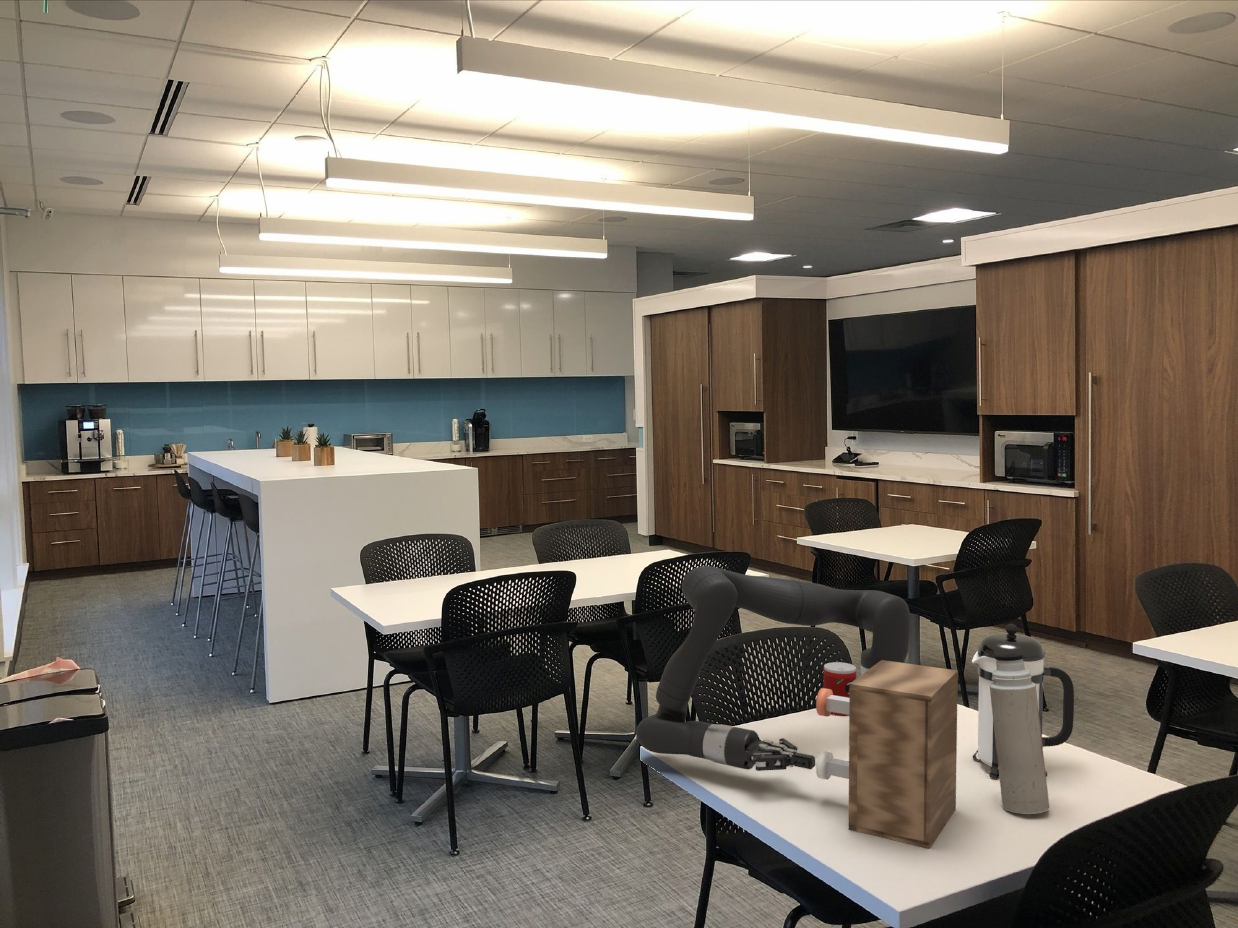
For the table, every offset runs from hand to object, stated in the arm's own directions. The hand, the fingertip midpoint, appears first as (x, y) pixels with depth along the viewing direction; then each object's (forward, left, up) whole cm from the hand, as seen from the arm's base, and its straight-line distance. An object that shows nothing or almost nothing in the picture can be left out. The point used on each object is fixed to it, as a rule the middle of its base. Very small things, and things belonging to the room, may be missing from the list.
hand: (813, 762), depth 182 cm
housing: (+16, +6, -7) cm, 18 cm away
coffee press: (+15, +43, -7) cm, 47 cm away
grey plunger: (+8, +3, -3) cm, 9 cm away
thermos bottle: (+27, +27, -7) cm, 39 cm away
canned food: (-31, +44, -7) cm, 54 cm away
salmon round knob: (+8, +3, +9) cm, 13 cm away
